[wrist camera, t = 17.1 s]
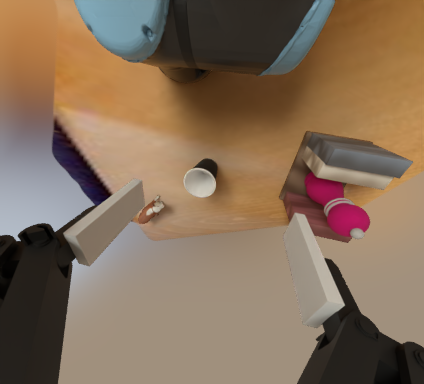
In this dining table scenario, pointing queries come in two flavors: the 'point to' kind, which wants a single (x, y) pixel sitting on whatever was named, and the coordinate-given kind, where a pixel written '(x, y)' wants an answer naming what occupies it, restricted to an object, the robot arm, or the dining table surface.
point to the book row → (336, 174)
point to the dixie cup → (201, 178)
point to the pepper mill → (337, 207)
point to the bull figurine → (150, 211)
